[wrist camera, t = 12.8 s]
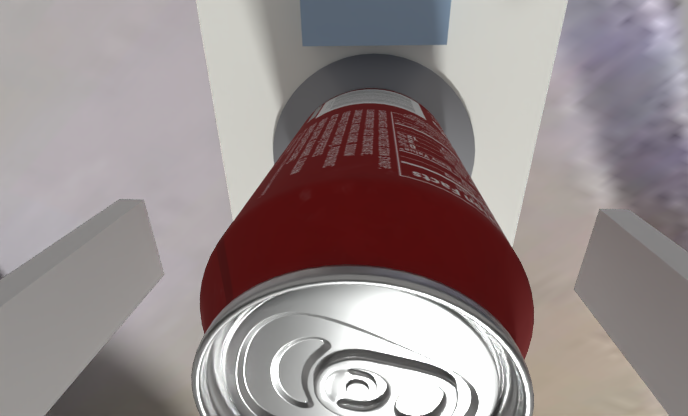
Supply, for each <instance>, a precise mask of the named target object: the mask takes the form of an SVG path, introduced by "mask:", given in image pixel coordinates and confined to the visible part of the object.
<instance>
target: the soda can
mask: <svg viewBox="0 0 688 416" xmlns="http://www.w3.org/2000/svg"><path fill="white" fill-rule="evenodd" d="M200 313H201V320H202V326H203V330H204V336H203V338H202V340H201V342H200V345H199V347H198V349H197V352H196V355H195V359H194V362H193V367H192V375H191V378H192V391H193V397H194V400H195V404H196V407H197V409H198V412H199V414H200V416H532V414H533V408H534V394H533V387H532V381H531V377H530V374H529V371H528V368H527V365H526V363H525V361H524V359H525V357H526V354H527V352H528V348H529V345H530V341H531V338H532V332H533V324H534V306H533V298H532V292H531V288H530V285H529V281H528V278H527V276H526V273H525V271H524V269H523V266H522V264H521V262H520V260H519V258H518V257H517V255H516V253H515V252H514V250H513V248H512V247H511V245H510V243H509V241H508V240H507V238H506V236H505V235H504V233H503V231H502V230H501V228H500V226H499V225H498V223H497V221H496V219H495V218H494V216H493V214H492V213H491V211H490V209H489V208H488V206H487V204H486V202H485V201H484V199H483V197H482V196H481V194H480V192H479V191H478V189H477V187H476V186H475V184H474V182H473V180H472V179H471V177H470V175H469V174H468V172H467V170H466V169H465V167H464V165H463V163H462V162H461V160H460V158H459V157H458V155H457V153H456V152H455V150H454V148H453V147H452V145H451V143H450V141H449V140H448V138H447V136H446V135H445V133H444V131H443V130H442V128H441V126H440V124H439V123H438V121H437V120H436V119H435V117H434V116H433V115H432V114H431V113H430V112H429V111H428V110H427V109H426V108H425V107H424V106H423V105H422V104H420V103H419V102H417V101H416V100H414V99H412V98H411V97H409V96H407V95H404V94H402V93H400V92H396V91H393V90H389V89H384V88H360V89H354V90H350V91H347V92H344V93H341V94H339V95H336V96H334V97H333V98H331V99H329V100H327V101H326V102H324V103H323V104H322V105H320V106H319V107H318V108H317V109H316V110H315V111H314V112H313V113H312V114H311V115H310V116H309V117H308V119H307V120H306V121H305V123H304V124H303V126H302V127H301V128H300V130H299V131H298V133H297V134H296V135H295V137H294V138H293V139H292V141H291V142H290V144H289V145H288V146H287V148H286V149H285V150H284V152H283V153H282V155H281V156H280V157H279V159H278V160H277V162H276V163H275V164H274V166H273V167H272V168H271V170H270V171H269V173H268V174H267V175H266V177H265V178H264V180H263V181H262V182H261V184H260V185H259V186H258V188H257V189H256V191H255V192H254V193H253V195H252V196H251V198H250V199H249V200H248V202H247V203H246V204H245V206H244V207H243V209H242V210H241V211H240V213H239V214H238V215H237V217H236V218H235V220H234V221H233V222H232V224H231V225H230V227H229V228H228V229H227V231H226V232H225V233H224V235H223V236H222V238H221V239H220V240H219V242H218V244H217V245H216V247H215V249H214V251H213V252H212V254H211V256H210V259H209V261H208V263H207V266H206V268H205V272H204V276H203V280H202V284H201V292H200Z"/></svg>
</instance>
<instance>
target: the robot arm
mask: <svg viewBox="0 0 688 416" xmlns="http://www.w3.org/2000/svg"><path fill="white" fill-rule="evenodd" d="M163 276H164V272H163V268H162V265H161V261H160V257H159V254H158V250H157V246H156V243H155V239H154V235H153V232H152V228H151V224H150V221H149V217H148V214H147V210H146V206H145V203H144V200H134V199H119V200H118V201H116V202H115V203H113V204H112V205H110V206H109V207H107V208H106V209H104V210H103V211H101V212H100V213H98V214H97V215H95V216H94V217H92V218H91V219H89V220H88V221H86V222H85V223H83V224H82V225H81V226H79V227H78V228H76V229H75V230H73V231H72V232H70V233H69V234H67V235H66V236H64V237H63V238H61V239H60V240H58V241H57V242H55V243H54V244H52V245H51V246H49V247H48V248H46V249H45V250H43V251H42V252H41V253H39V254H38V255H36V256H35V257H33V258H32V259H30V260H29V261H27V262H26V263H24V264H23V265H21V266H20V267H18V268H17V269H15V270H14V271H12V272H11V273H9V274H8V275H6V276H5V277H3V278H2V279H1V280H0V416H45V414H46V413H47V412H48V411H49V410H50V409H51V407H52V406H53V405H54V404H55V403H56V402H57V400H58V399H59V398H60V397H61V396H62V394H63V393H64V392H65V391H66V390H67V389H68V387H69V386H70V385H71V384H72V383H73V382H74V380H75V379H76V378H77V377H78V376H79V374H80V373H81V372H82V371H83V370H84V369H85V367H86V366H87V365H88V364H89V363H90V362H91V360H92V359H93V358H94V357H95V356H96V354H97V353H98V352H99V351H100V350H101V349H102V347H103V346H104V345H105V344H106V343H107V342H108V340H109V339H110V338H111V337H112V336H113V334H114V333H115V332H116V331H117V330H118V329H119V327H120V326H121V325H122V324H123V323H124V322H125V320H126V319H127V318H128V317H129V316H130V314H131V313H132V312H133V311H134V310H135V309H136V307H137V306H138V305H139V304H140V303H141V302H142V300H143V299H144V298H145V297H146V296H147V294H148V293H149V292H150V291H151V290H152V289H153V287H154V286H155V285H156V284H157V283H158V282H159V280H160V279H161V278H162V277H163ZM574 290H575V292H576V293H577V294H578V296H579V297H580V298H581V300H582V301H583V302H584V303H585V305H586V306H587V307H588V309H589V310H590V311H591V313H592V314H593V315H594V317H595V318H596V319H597V321H598V322H599V323H600V325H601V326H602V327H603V329H604V330H605V331H606V333H607V334H608V335H609V336H610V338H611V339H612V340H613V342H614V343H615V344H616V346H617V347H618V348H619V350H620V351H621V352H622V354H623V355H624V356H625V358H626V359H627V360H628V362H629V363H630V364H631V366H632V367H633V368H634V369H635V371H636V372H637V373H638V375H639V376H640V377H641V379H642V380H643V381H644V383H645V384H646V385H647V387H648V388H649V389H650V391H651V392H652V393H653V395H654V396H655V397H656V398H657V400H658V401H659V402H660V404H661V405H662V406H663V408H664V409H665V410H666V412H667V413H668V414H669V416H688V252H687V251H686V250H684V249H683V248H681V247H680V246H679V245H677V244H676V243H674V242H673V241H672V240H670V239H669V238H668V237H666V236H665V235H663V234H662V233H661V232H659V231H658V230H656V229H655V228H654V227H652V226H651V225H649V224H648V223H647V222H645V221H644V220H643V219H641V218H640V217H638V216H637V215H636V214H634V213H633V212H631V211H630V210H622V209H599V212H598V215H597V219H596V222H595V225H594V228H593V231H592V234H591V237H590V240H589V243H588V247H587V250H586V253H585V256H584V259H583V262H582V265H581V268H580V271H579V275H578V278H577V281H576V284H575V287H574Z"/></svg>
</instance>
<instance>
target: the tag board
mask: <svg viewBox="0 0 688 416" xmlns="http://www.w3.org/2000/svg"><path fill="white" fill-rule="evenodd" d="M567 3H568V0H196V5H197V11H198V17H199V23H200V29H201V34H202V40H203V46H204V52H205V58H206V64H207V70H208V76H209V82H210V88H211V94H212V100H213V105H214V111H215V117H216V123H217V129H218V135H219V141H220V147H221V153H222V159H223V165H224V170H225V176H226V182H227V188H228V194H229V200H230V206H231V212H232V218H233V221H234V220H235V218H236V217H237V215H238V214H239V213H240V211H241V210H242V209H243V207H244V206H245V204H246V203H247V202H248V200H249V199H250V198H251V196H252V195H253V193H254V192H255V191H256V189H257V188H258V186H259V185H260V184H261V182H262V181H263V180H264V178H265V177H266V175H267V174H268V173H269V171H270V170H271V168H272V167H273V166H274V164H275V163H276V162H277V160H278V159H279V157H280V156H281V155H282V153H283V152H284V150H285V149H286V148H287V146H288V145H289V144H290V142H291V141H292V139H293V138H294V137H295V135H296V134H297V133H298V131H299V130H300V128H301V127H302V126H303V124H304V123H305V121H306V120H307V119H308V117H309V116H310V115H311V114H312V113H313V112H314V111H315V110H316V109H317V108H318V107H319V106H320V105H322V104H323V103H324V102H326V101H327V100H329V99H331V98H333V97H334V96H336V95H339V94H341V93H344V92H347V91H350V90H354V89H360V88H384V89H389V90H393V91H396V92H400V93H402V94H404V95H407V96H409V97H411V98H412V99H414V100H416V101H417V102H419V103H420V104H422V105H423V106H424V107H425V108H426V109H427V110H428V111H429V112H430V113H431V114H432V115H433V116H434V117H435V119H436V120H437V121H438V123H439V124H440V126H441V128H442V130H443V131H444V133H445V135H446V136H447V138H448V140H449V141H450V143H451V145H452V147H453V148H454V150H455V152H456V153H457V155H458V157H459V158H460V160H461V162H462V163H463V165H464V167H465V169H466V170H467V172H468V174H469V175H470V177H471V179H472V180H473V182H474V184H475V186H476V187H477V189H478V191H479V192H480V194H481V196H482V197H483V199H484V201H485V202H486V204H487V206H488V208H489V209H490V211H491V213H492V214H493V216H494V218H495V219H496V221H497V223H498V225H499V226H500V228H501V230H502V231H503V233H504V235H505V236H506V238H507V240H508V241H509V243H510V245H511V247H513V242H514V238H515V233H516V229H517V225H518V220H519V216H520V211H521V207H522V202H523V198H524V194H525V189H526V185H527V180H528V176H529V171H530V167H531V162H532V158H533V154H534V149H535V145H536V140H537V136H538V131H539V127H540V122H541V118H542V114H543V109H544V105H545V100H546V96H547V91H548V87H549V82H550V78H551V74H552V69H553V65H554V60H555V56H556V51H557V47H558V42H559V38H560V34H561V29H562V25H563V20H564V16H565V11H566V7H567Z"/></svg>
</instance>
